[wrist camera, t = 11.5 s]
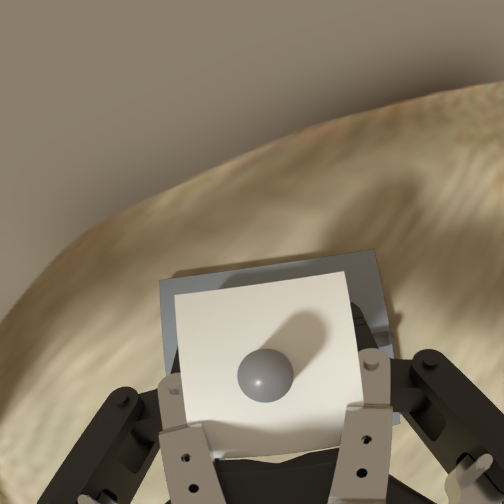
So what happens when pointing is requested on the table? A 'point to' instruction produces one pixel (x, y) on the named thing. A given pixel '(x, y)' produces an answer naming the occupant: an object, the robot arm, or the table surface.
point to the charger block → (269, 365)
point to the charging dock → (353, 264)
